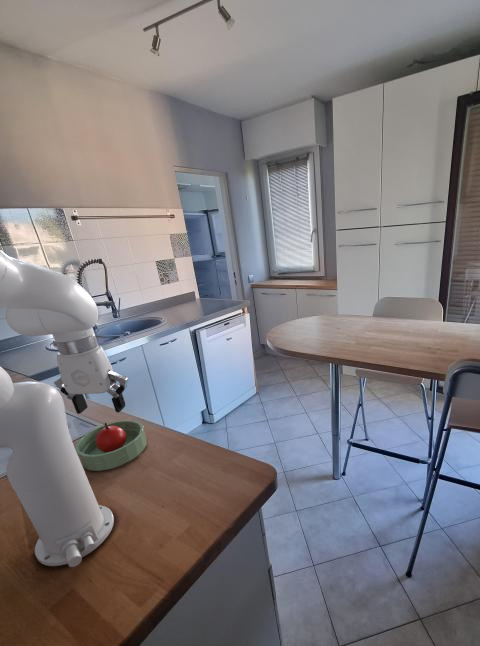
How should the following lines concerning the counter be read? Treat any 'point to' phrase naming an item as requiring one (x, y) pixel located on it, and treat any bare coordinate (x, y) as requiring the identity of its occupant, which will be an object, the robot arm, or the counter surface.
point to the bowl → (104, 461)
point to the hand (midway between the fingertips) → (101, 410)
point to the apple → (110, 438)
